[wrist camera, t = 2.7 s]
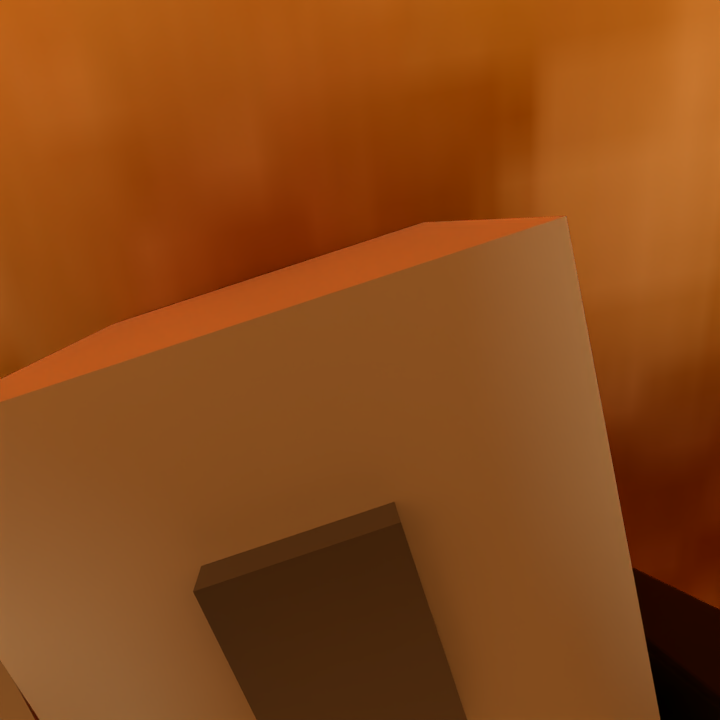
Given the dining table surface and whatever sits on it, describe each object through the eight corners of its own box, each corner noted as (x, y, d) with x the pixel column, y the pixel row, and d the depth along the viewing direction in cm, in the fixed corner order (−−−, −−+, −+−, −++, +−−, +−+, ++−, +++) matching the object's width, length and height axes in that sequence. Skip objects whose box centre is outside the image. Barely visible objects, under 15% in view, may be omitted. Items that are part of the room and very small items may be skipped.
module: (425, 221, 7) (591, 214, 3) (551, 696, 9) (738, 1060, 5) (110, 324, 7) (-184, 468, 3) (321, 774, 9) (329, 1202, 5)
